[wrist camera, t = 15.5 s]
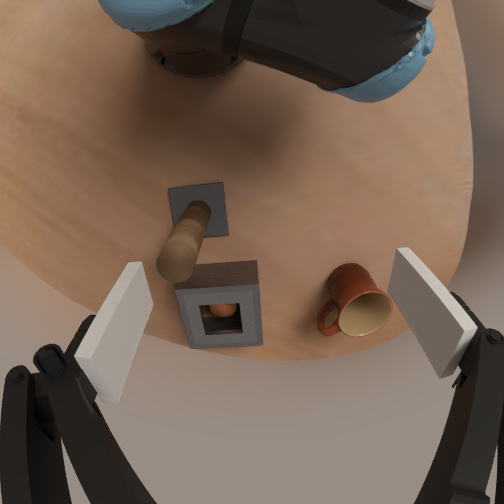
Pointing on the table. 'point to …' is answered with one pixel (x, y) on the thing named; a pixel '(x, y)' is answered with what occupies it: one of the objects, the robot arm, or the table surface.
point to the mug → (355, 303)
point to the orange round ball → (223, 309)
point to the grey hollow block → (222, 292)
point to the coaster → (207, 194)
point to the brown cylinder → (184, 243)
